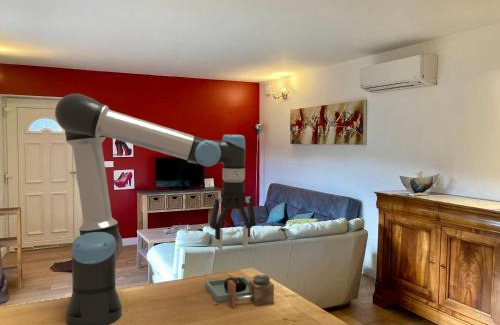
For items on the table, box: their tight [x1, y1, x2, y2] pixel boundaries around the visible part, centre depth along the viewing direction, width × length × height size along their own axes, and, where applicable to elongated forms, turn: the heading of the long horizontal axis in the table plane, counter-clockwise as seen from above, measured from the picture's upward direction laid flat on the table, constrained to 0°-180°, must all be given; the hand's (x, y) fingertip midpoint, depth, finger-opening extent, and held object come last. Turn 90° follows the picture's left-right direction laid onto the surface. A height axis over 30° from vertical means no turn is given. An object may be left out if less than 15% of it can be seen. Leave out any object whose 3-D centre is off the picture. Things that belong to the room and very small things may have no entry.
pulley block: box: [248, 274, 275, 307], centre depth 133 cm, size 6×6×8 cm
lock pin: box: [227, 280, 254, 308], centre depth 132 cm, size 14×4×7 cm, turn 112°
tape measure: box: [224, 276, 246, 292], centre depth 141 cm, size 7×7×4 cm
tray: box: [204, 276, 251, 304], centre depth 142 cm, size 15×15×2 cm
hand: (232, 247), depth 141 cm, fingers open, 8 cm apart
